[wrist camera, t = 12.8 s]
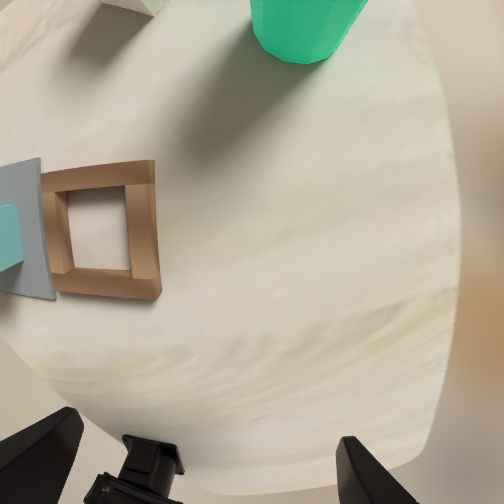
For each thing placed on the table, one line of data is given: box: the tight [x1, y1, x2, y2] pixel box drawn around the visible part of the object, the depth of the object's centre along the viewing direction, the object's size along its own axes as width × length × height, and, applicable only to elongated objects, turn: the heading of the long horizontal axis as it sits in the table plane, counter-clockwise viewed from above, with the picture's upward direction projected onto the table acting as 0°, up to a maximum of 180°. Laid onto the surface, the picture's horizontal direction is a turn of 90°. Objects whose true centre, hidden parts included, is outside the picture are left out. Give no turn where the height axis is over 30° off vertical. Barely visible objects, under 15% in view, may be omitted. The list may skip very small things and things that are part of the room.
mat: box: [0, 158, 57, 300], centre depth 20 cm, size 12×11×1 cm
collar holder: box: [40, 160, 162, 300], centre depth 19 cm, size 9×9×2 cm
